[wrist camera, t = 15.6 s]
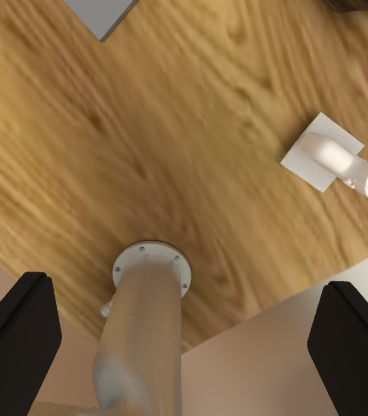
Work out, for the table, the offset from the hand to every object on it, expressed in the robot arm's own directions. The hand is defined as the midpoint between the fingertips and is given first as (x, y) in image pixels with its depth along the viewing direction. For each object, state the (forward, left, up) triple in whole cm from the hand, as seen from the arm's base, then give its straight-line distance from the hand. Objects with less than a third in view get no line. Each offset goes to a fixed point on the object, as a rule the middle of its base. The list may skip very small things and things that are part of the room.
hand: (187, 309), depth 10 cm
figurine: (+12, -12, -31) cm, 35 cm away
